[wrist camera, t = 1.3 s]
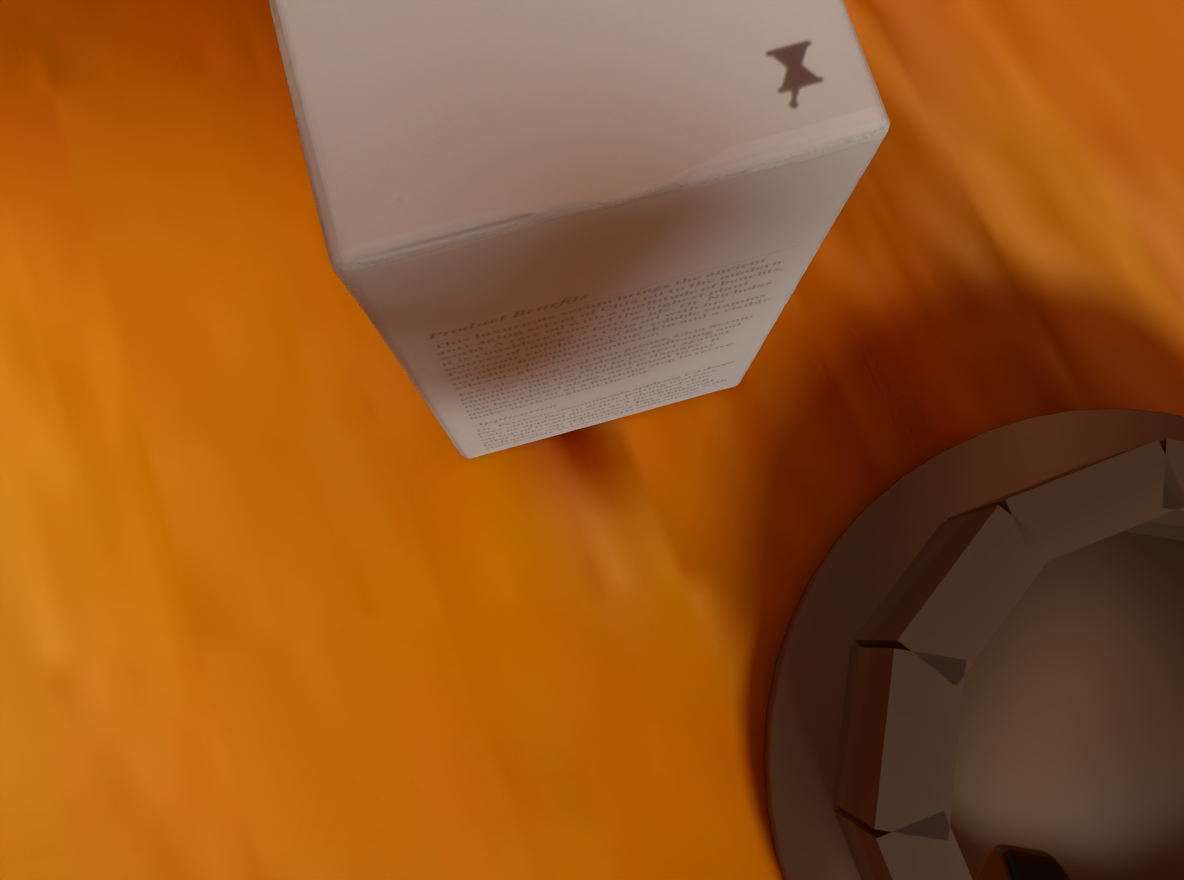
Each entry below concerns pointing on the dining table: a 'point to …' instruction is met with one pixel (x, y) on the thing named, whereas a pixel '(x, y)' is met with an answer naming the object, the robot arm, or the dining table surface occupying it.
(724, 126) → the skincare box
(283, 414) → the dining table surface
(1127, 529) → the stone fire pit
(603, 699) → the dining table surface
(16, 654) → the dining table surface
